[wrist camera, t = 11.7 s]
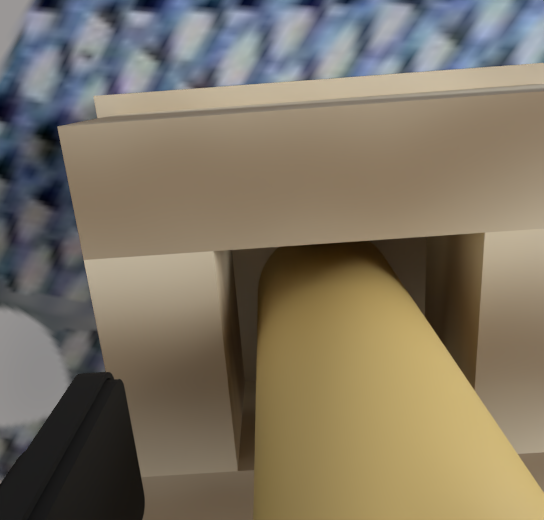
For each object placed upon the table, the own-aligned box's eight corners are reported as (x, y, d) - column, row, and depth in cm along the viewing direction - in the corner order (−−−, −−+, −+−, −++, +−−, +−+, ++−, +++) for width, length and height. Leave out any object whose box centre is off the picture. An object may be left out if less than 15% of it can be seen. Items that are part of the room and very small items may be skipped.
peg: (391, 348, 16) (705, 1003, 5) (262, 356, 16) (263, 1030, 5) (394, 223, 15) (838, 716, 3) (252, 232, 15) (221, 756, 3)
